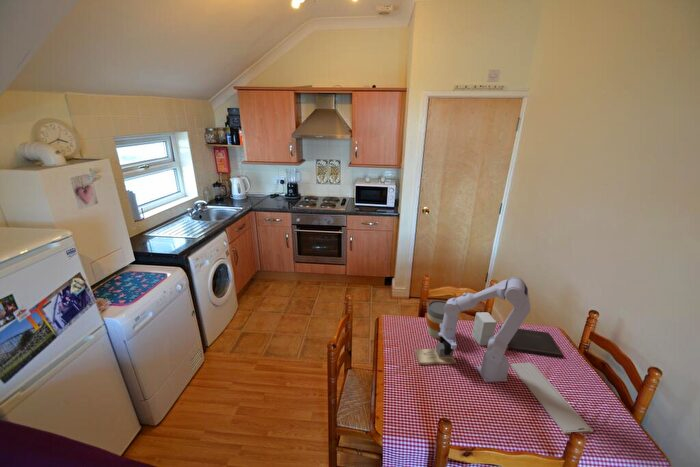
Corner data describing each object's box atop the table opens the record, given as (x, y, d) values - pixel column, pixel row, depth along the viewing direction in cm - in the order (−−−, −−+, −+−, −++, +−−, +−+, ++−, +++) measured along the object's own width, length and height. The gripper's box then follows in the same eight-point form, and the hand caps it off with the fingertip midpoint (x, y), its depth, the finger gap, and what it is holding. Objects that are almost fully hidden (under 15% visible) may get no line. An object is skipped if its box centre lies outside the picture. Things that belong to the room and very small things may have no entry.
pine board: (448, 350, 138) (448, 348, 137) (455, 363, 130) (455, 361, 130) (414, 351, 136) (414, 349, 136) (419, 364, 129) (419, 362, 129)
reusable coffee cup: (420, 325, 154) (423, 300, 149) (444, 324, 156) (447, 299, 151) (429, 342, 143) (433, 315, 138) (454, 340, 144) (459, 314, 139)
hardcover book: (498, 329, 154) (499, 325, 153) (547, 336, 150) (548, 332, 149) (507, 351, 139) (508, 347, 138) (562, 359, 135) (563, 355, 134)
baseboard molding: (535, 364, 131) (509, 366, 130) (536, 359, 130) (510, 361, 129) (596, 433, 102) (564, 435, 101) (599, 426, 101) (566, 429, 100)
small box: (492, 345, 142) (497, 322, 137) (479, 345, 141) (484, 322, 137) (483, 334, 149) (488, 311, 145) (471, 334, 149) (475, 312, 144)
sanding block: (448, 351, 135) (450, 342, 134) (452, 358, 132) (453, 348, 130) (435, 351, 135) (437, 342, 133) (438, 358, 131) (440, 349, 129)
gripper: (434, 315, 134) (430, 339, 139) (446, 336, 121) (442, 363, 125) (449, 314, 135) (445, 339, 140) (463, 336, 121) (458, 362, 126)
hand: (445, 350), depth 132 cm, fingers closed on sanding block, 4 cm apart
